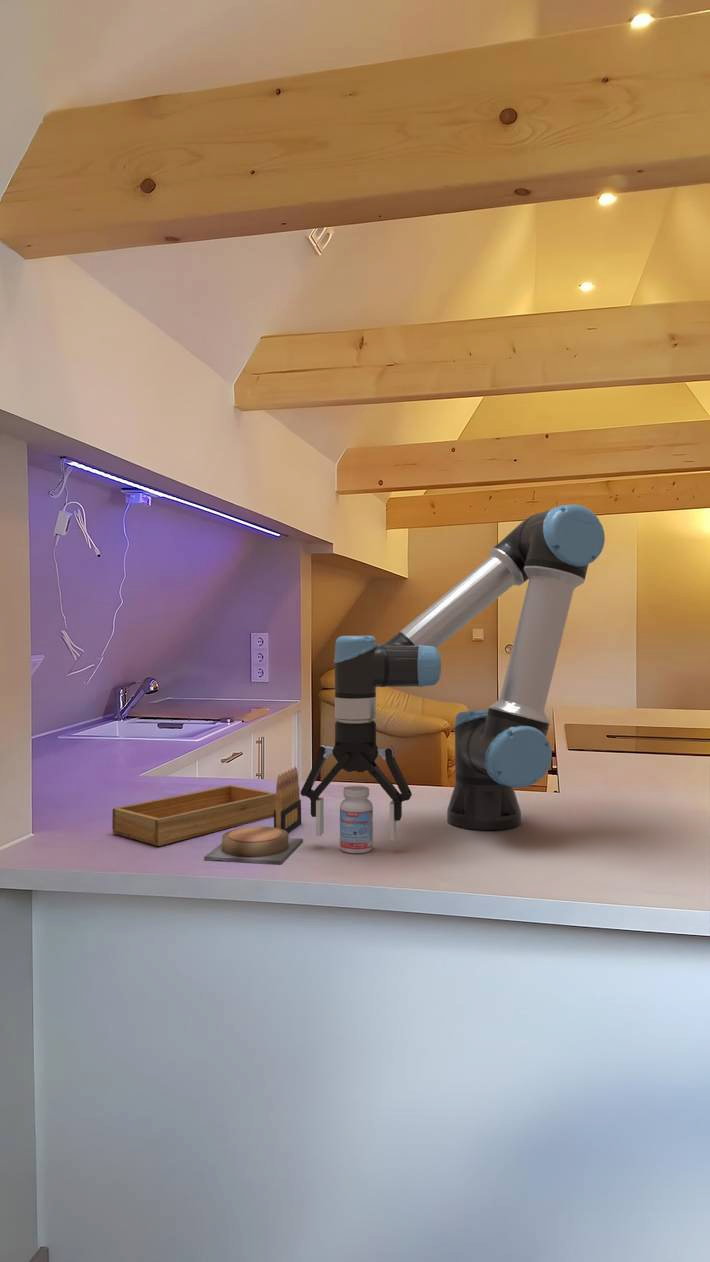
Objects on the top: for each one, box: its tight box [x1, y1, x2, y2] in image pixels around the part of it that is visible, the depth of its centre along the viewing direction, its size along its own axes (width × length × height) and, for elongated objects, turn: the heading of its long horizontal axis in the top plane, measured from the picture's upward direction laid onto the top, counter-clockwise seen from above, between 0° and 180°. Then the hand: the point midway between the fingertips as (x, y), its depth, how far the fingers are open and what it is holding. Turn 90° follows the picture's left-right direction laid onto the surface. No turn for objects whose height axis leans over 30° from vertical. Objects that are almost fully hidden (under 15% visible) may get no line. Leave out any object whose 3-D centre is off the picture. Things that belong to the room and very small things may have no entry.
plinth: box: [203, 826, 304, 865], centre depth 142 cm, size 14×14×3 cm
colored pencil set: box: [273, 766, 302, 834], centre depth 156 cm, size 11×2×12 cm, turn 164°
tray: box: [111, 784, 276, 847], centre depth 160 cm, size 31×15×6 cm, turn 140°
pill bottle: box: [339, 785, 374, 854], centre depth 142 cm, size 6×6×11 cm
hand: (356, 836), depth 142 cm, fingers open, 13 cm apart
